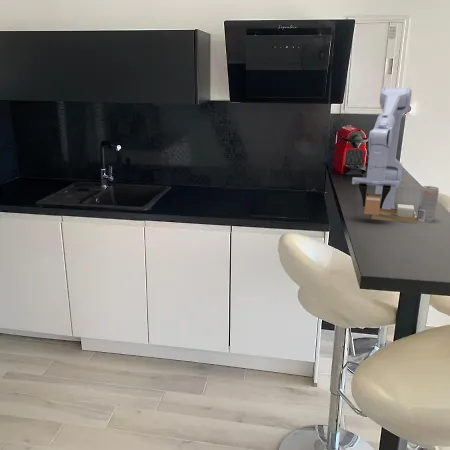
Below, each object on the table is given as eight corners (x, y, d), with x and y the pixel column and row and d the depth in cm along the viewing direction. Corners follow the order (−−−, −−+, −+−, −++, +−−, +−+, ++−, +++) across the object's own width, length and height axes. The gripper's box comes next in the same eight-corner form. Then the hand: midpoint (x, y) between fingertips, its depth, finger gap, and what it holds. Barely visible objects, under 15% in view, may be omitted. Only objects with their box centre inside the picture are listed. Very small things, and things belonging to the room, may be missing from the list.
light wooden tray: (372, 214, 165) (373, 206, 165) (414, 218, 161) (415, 210, 160) (371, 220, 157) (372, 212, 156) (415, 225, 153) (416, 216, 152)
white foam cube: (396, 216, 161) (397, 204, 160) (411, 218, 159) (413, 205, 158) (396, 220, 156) (397, 207, 155) (412, 221, 155) (414, 208, 153)
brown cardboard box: (365, 210, 156) (367, 192, 154) (379, 211, 154) (381, 194, 153) (364, 213, 152) (366, 196, 150) (378, 215, 150) (380, 197, 148)
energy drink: (429, 220, 160) (434, 186, 156) (436, 224, 155) (442, 189, 151) (414, 219, 160) (419, 185, 156) (421, 224, 154) (426, 189, 151)
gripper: (352, 166, 147) (348, 207, 151) (401, 169, 143) (395, 212, 147) (354, 163, 154) (350, 202, 158) (400, 166, 149) (395, 207, 153)
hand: (372, 206), depth 153 cm, fingers closed on brown cardboard box, 5 cm apart
